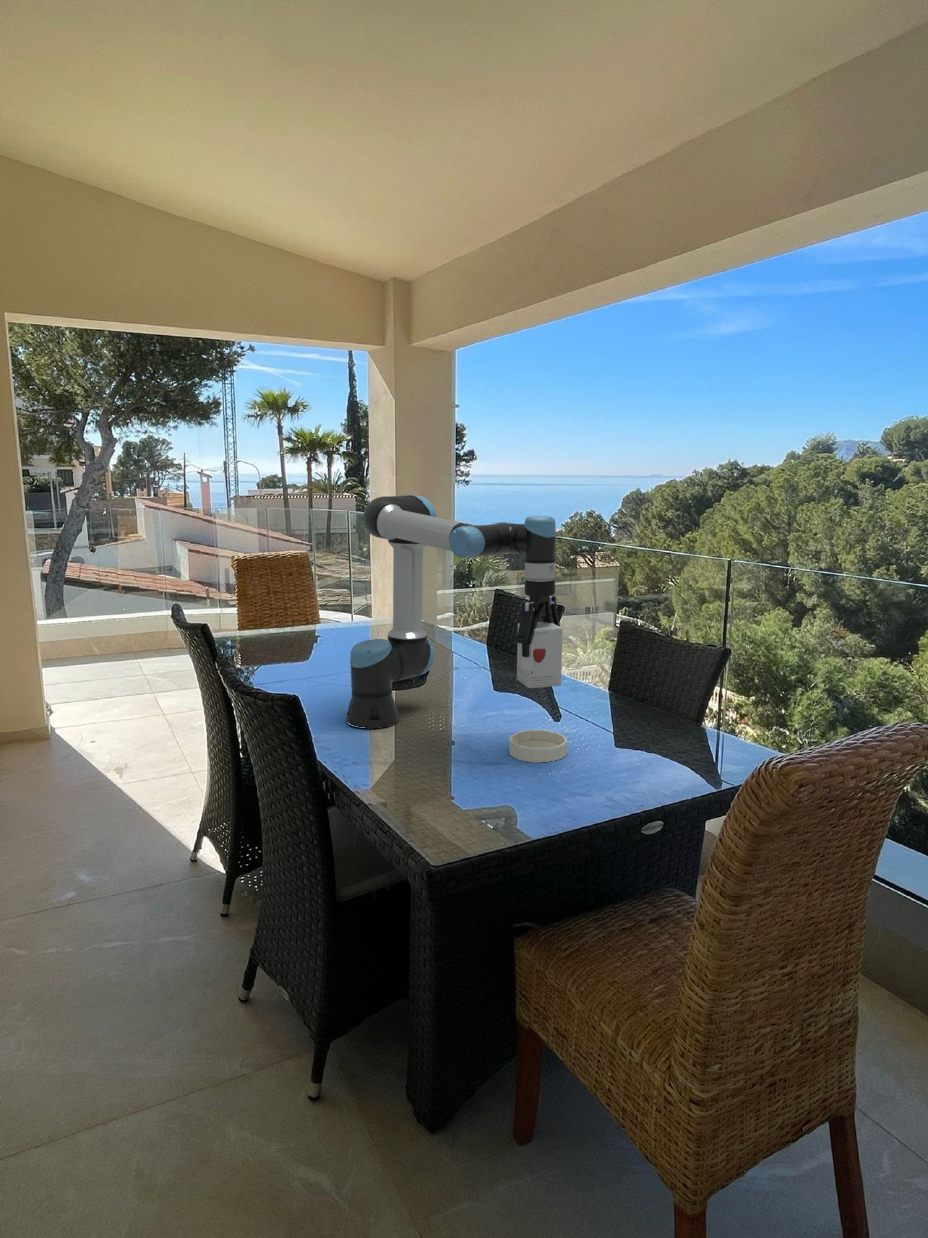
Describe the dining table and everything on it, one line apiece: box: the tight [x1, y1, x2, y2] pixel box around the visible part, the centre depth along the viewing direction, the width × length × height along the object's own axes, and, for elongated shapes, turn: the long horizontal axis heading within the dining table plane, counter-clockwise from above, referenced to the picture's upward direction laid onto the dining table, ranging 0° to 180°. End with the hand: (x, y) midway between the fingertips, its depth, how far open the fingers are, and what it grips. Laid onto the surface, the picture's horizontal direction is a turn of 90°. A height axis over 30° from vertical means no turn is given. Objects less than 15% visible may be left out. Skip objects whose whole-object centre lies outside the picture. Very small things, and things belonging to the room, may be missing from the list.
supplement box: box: [516, 621, 563, 689], centre depth 194 cm, size 9×9×15 cm
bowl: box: [508, 729, 568, 763], centre depth 198 cm, size 15×15×4 cm
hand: (539, 664), depth 194 cm, fingers closed on supplement box, 12 cm apart
